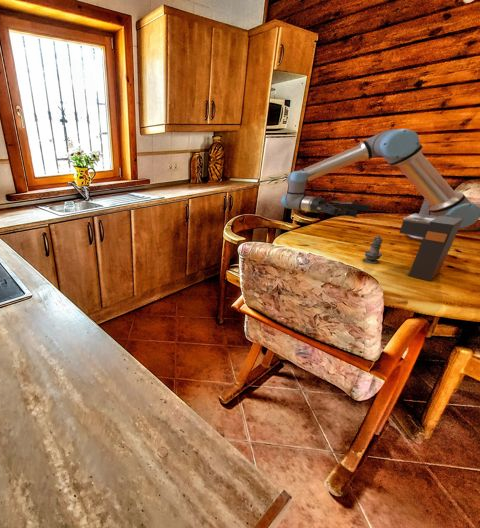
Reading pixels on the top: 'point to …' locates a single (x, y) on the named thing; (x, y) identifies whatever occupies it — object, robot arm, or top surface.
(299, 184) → the robot arm
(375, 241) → the dark grey chess piece
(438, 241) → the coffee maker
